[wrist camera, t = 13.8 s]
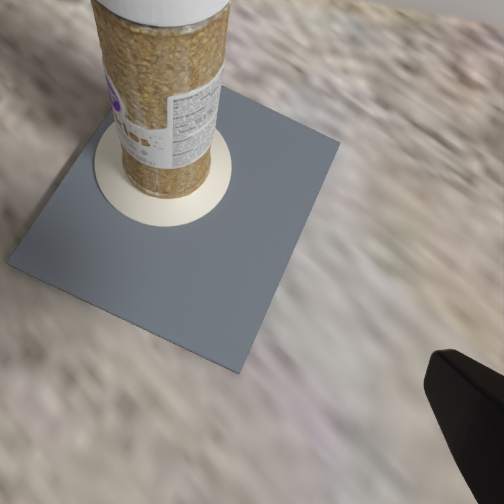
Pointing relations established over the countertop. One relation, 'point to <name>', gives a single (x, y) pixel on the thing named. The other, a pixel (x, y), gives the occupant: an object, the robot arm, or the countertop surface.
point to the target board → (185, 232)
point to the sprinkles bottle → (164, 87)
